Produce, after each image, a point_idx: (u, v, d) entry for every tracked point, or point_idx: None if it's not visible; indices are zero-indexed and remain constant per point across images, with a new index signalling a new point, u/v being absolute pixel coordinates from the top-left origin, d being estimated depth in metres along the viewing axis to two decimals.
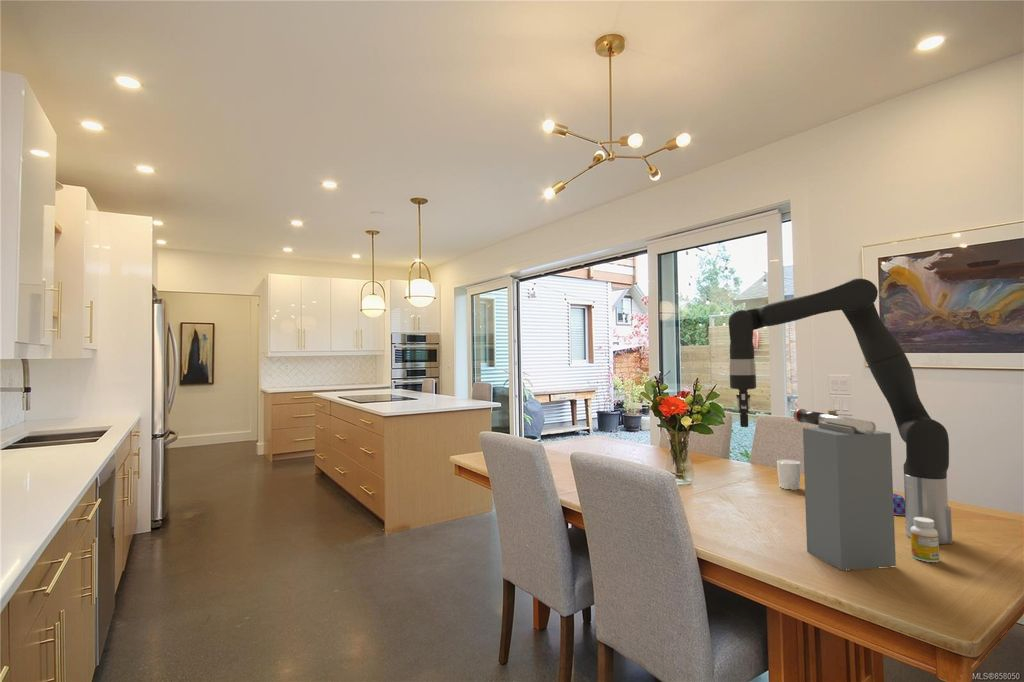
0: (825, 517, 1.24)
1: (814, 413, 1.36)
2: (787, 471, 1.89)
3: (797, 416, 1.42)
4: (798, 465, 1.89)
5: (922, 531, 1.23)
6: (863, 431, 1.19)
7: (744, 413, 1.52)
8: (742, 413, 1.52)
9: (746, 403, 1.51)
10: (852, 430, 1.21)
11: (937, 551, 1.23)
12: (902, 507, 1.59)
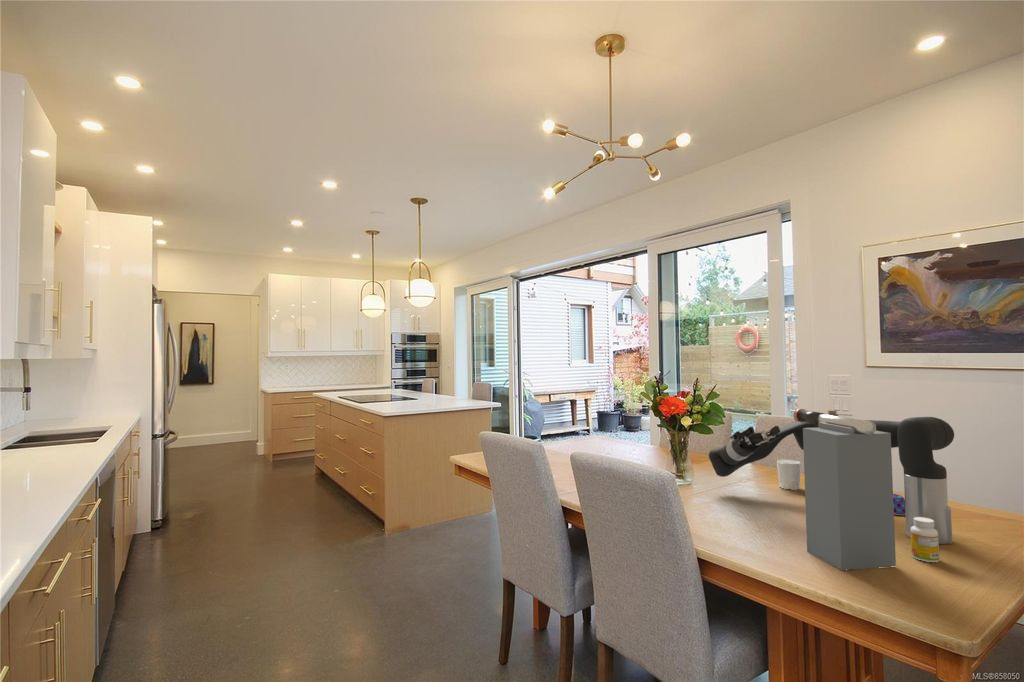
0: (825, 517, 1.24)
1: (814, 413, 1.36)
2: (787, 471, 1.89)
3: (797, 416, 1.42)
4: (798, 465, 1.89)
5: (922, 531, 1.23)
6: (863, 431, 1.19)
7: (740, 434, 1.63)
8: (740, 435, 1.63)
9: (733, 435, 1.66)
10: (852, 430, 1.21)
11: (937, 551, 1.23)
12: (902, 507, 1.59)
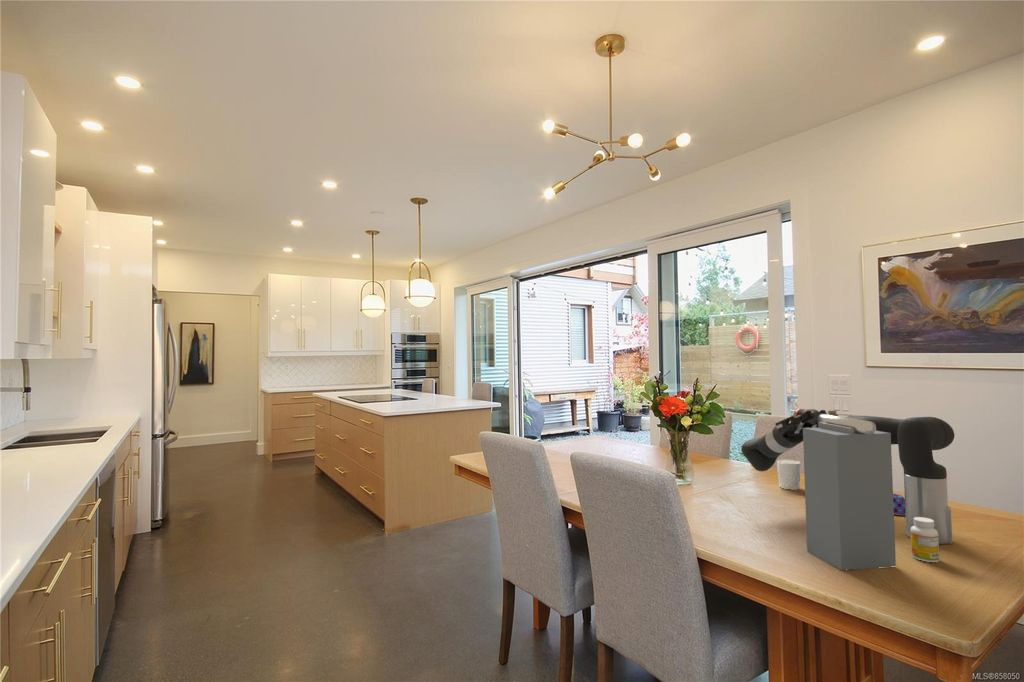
0: (825, 517, 1.24)
1: (814, 413, 1.36)
2: (787, 471, 1.89)
3: None
4: (798, 465, 1.89)
5: (922, 531, 1.23)
6: (863, 431, 1.19)
7: (795, 419, 1.39)
8: (795, 421, 1.39)
9: (783, 421, 1.42)
10: (852, 430, 1.21)
11: (937, 551, 1.23)
12: (903, 507, 1.59)
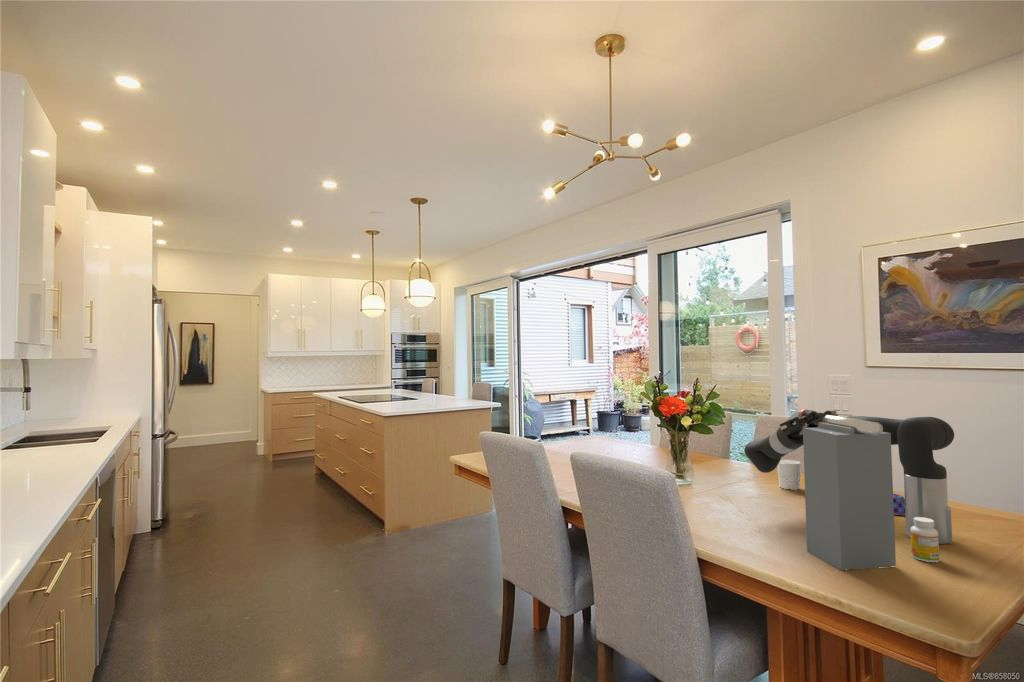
0: (825, 517, 1.24)
1: (819, 414, 1.34)
2: (787, 471, 1.89)
3: None
4: (798, 465, 1.89)
5: (922, 531, 1.23)
6: (870, 432, 1.17)
7: (799, 420, 1.38)
8: (800, 422, 1.37)
9: (788, 422, 1.40)
10: (852, 430, 1.21)
11: (937, 551, 1.23)
12: (903, 507, 1.59)
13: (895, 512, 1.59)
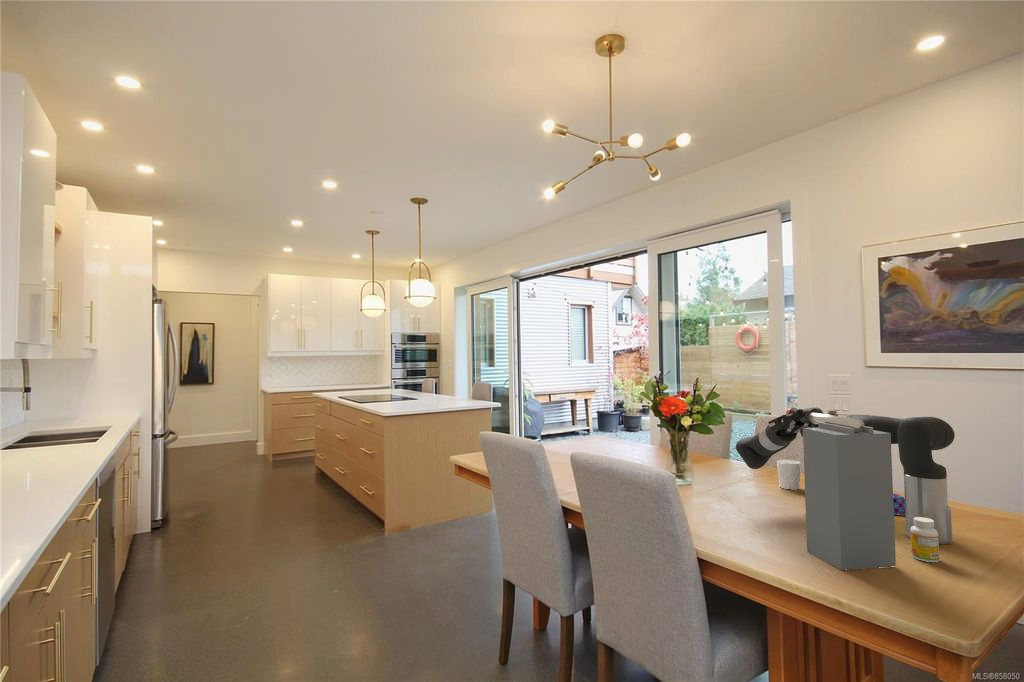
0: (825, 517, 1.24)
1: (805, 412, 1.40)
2: (787, 471, 1.89)
3: None
4: (798, 465, 1.89)
5: (922, 531, 1.23)
6: None
7: (787, 417, 1.43)
8: (787, 419, 1.43)
9: (776, 419, 1.45)
10: (852, 430, 1.21)
11: (937, 551, 1.23)
12: (904, 507, 1.59)
13: (896, 512, 1.59)
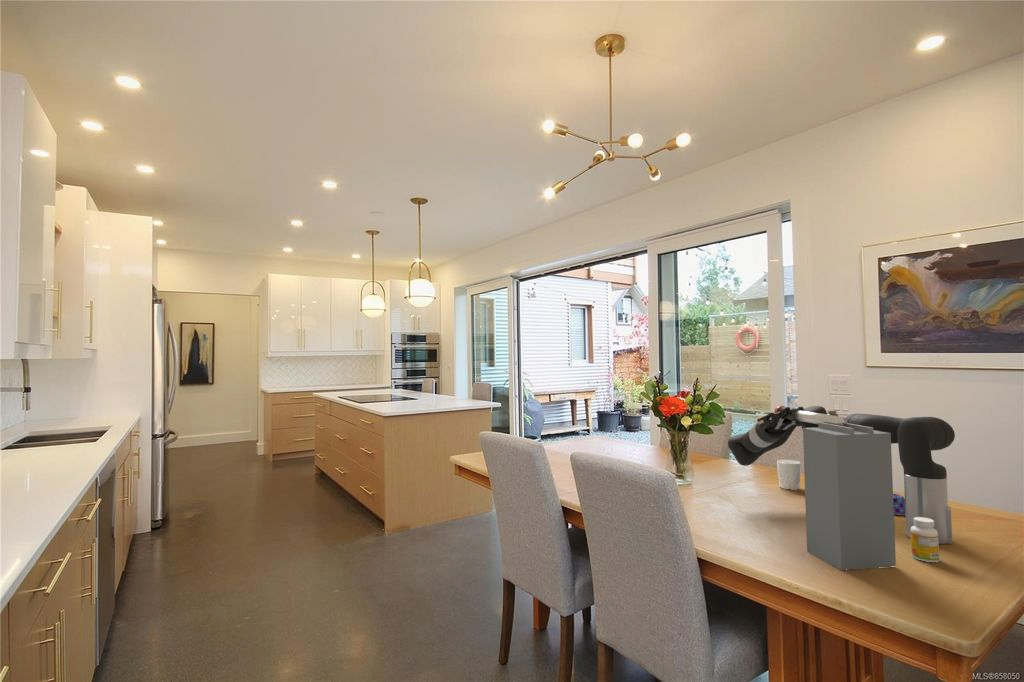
0: (825, 517, 1.24)
1: (792, 410, 1.45)
2: (787, 471, 1.89)
3: None
4: (798, 465, 1.89)
5: (922, 531, 1.23)
6: None
7: (775, 415, 1.48)
8: (775, 417, 1.48)
9: (764, 417, 1.51)
10: (852, 430, 1.21)
11: (937, 551, 1.23)
12: (904, 507, 1.59)
13: (897, 512, 1.59)
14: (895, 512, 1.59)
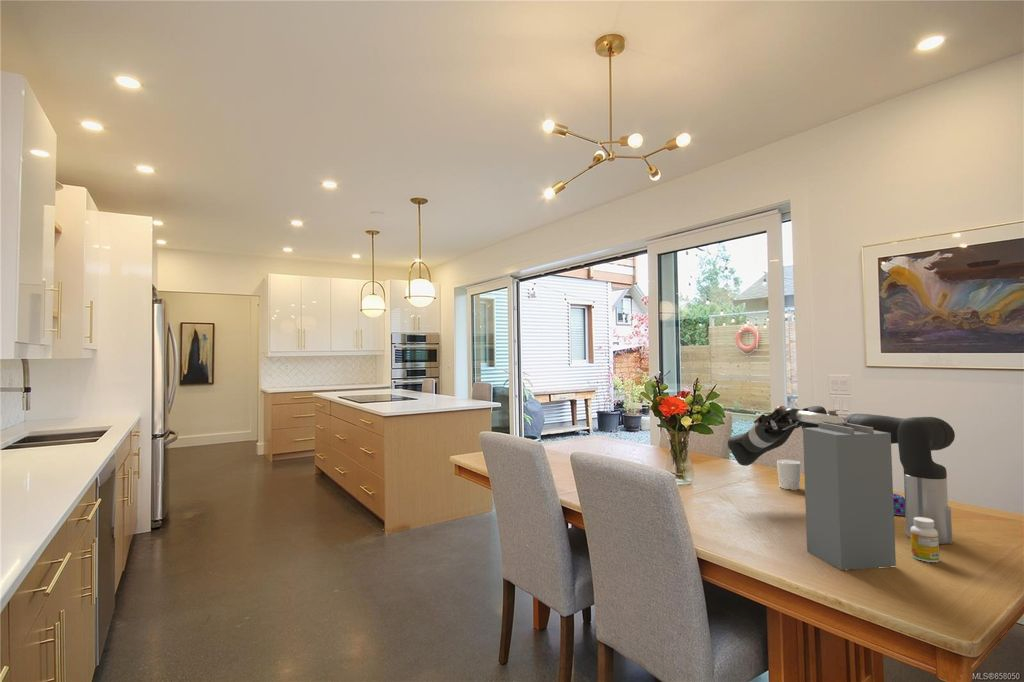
0: (825, 517, 1.24)
1: (792, 409, 1.45)
2: (787, 471, 1.89)
3: None
4: (798, 465, 1.89)
5: (922, 531, 1.23)
6: None
7: (765, 417, 1.49)
8: (766, 419, 1.49)
9: (757, 419, 1.52)
10: (852, 430, 1.21)
11: (937, 551, 1.23)
12: None
13: (898, 512, 1.59)
14: (896, 512, 1.59)
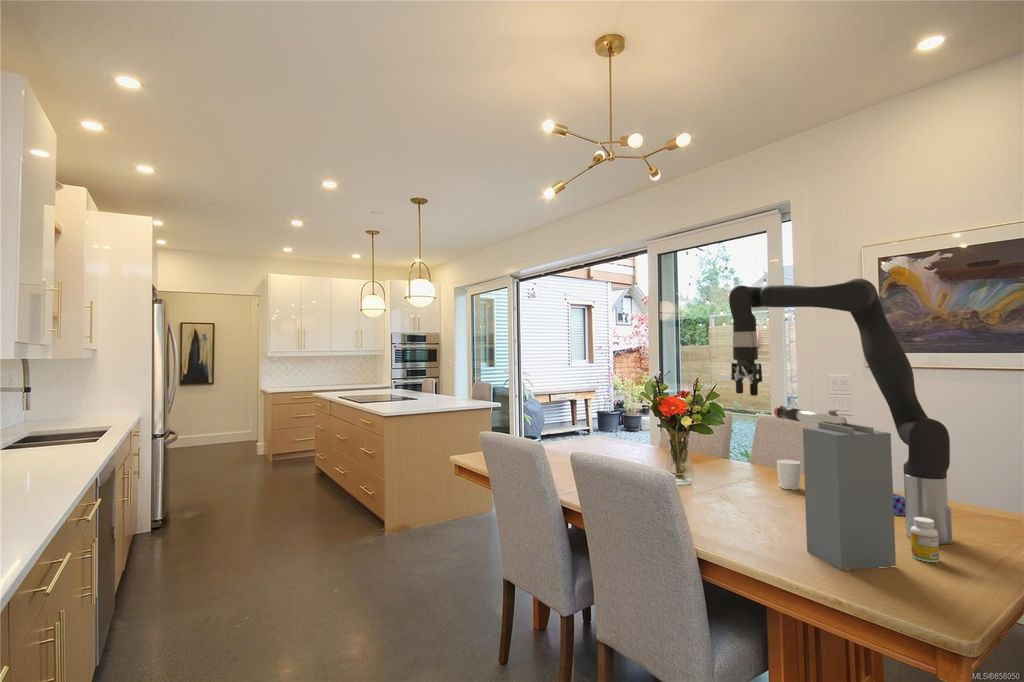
0: (825, 517, 1.24)
1: (792, 409, 1.45)
2: (787, 471, 1.89)
3: (777, 412, 1.51)
4: (798, 465, 1.89)
5: (922, 531, 1.23)
6: None
7: None
8: None
9: None
10: (852, 430, 1.21)
11: (937, 551, 1.23)
12: None
13: (901, 512, 1.59)
14: (899, 512, 1.59)
